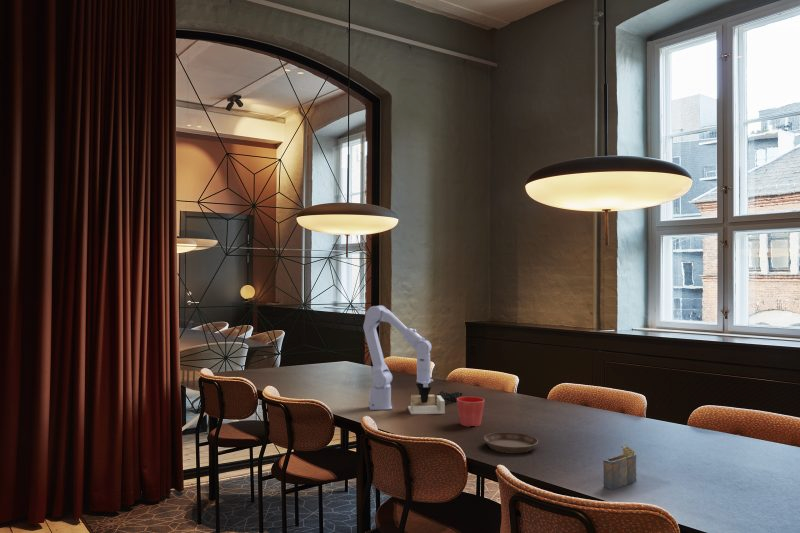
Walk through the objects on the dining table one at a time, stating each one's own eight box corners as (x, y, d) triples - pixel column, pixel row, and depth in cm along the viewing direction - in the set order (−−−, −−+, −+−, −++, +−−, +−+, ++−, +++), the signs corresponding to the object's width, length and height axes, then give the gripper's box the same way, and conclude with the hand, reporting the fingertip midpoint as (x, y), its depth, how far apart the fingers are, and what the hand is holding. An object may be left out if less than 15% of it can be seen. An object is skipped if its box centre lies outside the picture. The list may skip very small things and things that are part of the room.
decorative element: (440, 408, 263) (440, 395, 263) (430, 407, 265) (430, 393, 265) (463, 401, 281) (464, 388, 282) (454, 400, 284) (454, 387, 284)
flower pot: (488, 422, 237) (488, 397, 237) (479, 429, 227) (479, 402, 227) (462, 420, 242) (462, 395, 242) (452, 426, 232) (452, 400, 232)
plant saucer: (549, 450, 200) (549, 441, 200) (508, 458, 191) (508, 448, 191) (512, 438, 215) (512, 429, 215) (473, 445, 206) (473, 436, 206)
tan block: (411, 408, 256) (411, 396, 256) (410, 406, 260) (410, 394, 260) (435, 408, 257) (435, 396, 257) (434, 406, 261) (434, 394, 261)
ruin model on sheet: (626, 479, 172) (626, 444, 172) (636, 482, 170) (636, 447, 170) (602, 488, 165) (601, 451, 165) (612, 491, 163) (611, 454, 163)
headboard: (411, 414, 252) (411, 401, 252) (408, 408, 264) (408, 395, 264) (444, 413, 253) (444, 400, 253) (440, 407, 265) (440, 395, 265)
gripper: (435, 371, 252) (435, 404, 251) (430, 366, 266) (430, 397, 266) (418, 372, 251) (418, 405, 251) (414, 366, 265) (414, 398, 265)
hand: (423, 401), depth 258 cm, fingers closed on tan block, 4 cm apart
